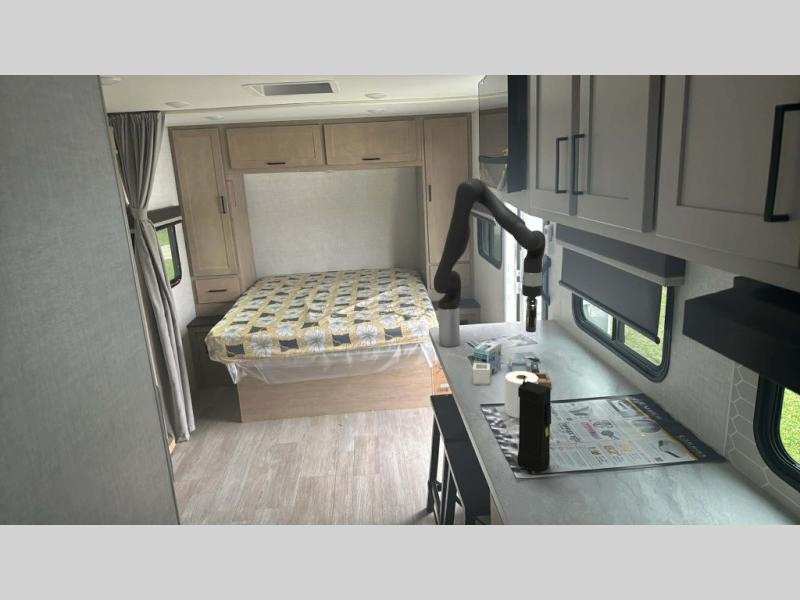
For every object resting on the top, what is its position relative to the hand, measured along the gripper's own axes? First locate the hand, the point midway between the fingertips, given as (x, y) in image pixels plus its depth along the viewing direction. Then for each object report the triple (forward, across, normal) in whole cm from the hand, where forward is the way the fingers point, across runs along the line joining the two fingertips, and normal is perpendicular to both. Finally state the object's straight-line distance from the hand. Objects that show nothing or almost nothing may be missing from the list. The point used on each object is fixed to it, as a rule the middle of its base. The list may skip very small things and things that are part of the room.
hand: (531, 325), depth 204 cm
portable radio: (+15, +74, -4) cm, 76 cm away
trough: (+15, +21, +1) cm, 26 cm away
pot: (+16, +20, -19) cm, 32 cm away
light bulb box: (+16, +10, -17) cm, 25 cm away
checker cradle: (+16, +10, -3) cm, 19 cm away
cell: (+2, 0, 0) cm, 2 cm away
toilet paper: (+16, +43, -6) cm, 47 cm away
